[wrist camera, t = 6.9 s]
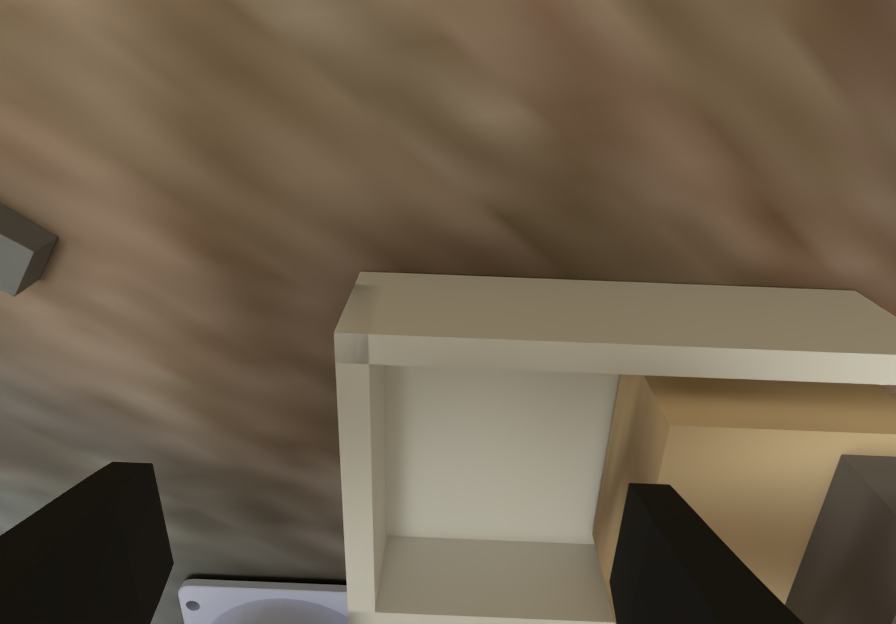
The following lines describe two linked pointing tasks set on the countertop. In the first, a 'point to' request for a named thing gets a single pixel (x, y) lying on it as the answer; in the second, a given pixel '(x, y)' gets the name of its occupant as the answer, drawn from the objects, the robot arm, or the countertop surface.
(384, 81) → the countertop surface
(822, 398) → the tan block with handle
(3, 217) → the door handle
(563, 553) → the bay
